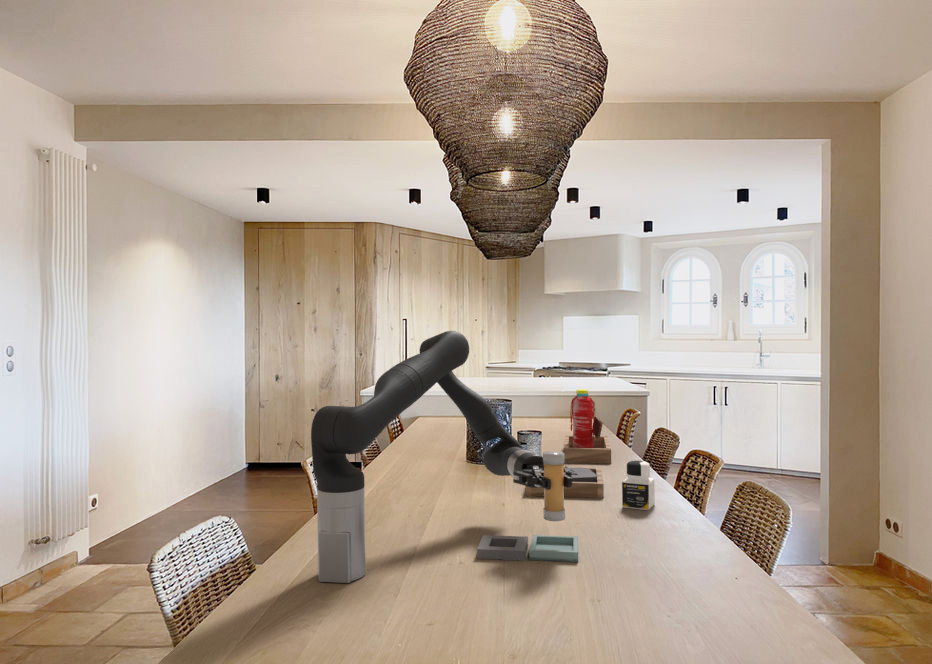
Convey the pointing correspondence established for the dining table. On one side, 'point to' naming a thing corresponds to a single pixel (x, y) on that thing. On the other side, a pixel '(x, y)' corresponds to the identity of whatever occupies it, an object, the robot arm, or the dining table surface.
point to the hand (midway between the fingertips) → (559, 483)
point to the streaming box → (583, 475)
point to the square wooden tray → (577, 488)
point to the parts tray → (554, 548)
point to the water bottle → (584, 420)
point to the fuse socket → (502, 547)
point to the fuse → (554, 486)
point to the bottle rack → (588, 451)
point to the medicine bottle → (638, 486)
